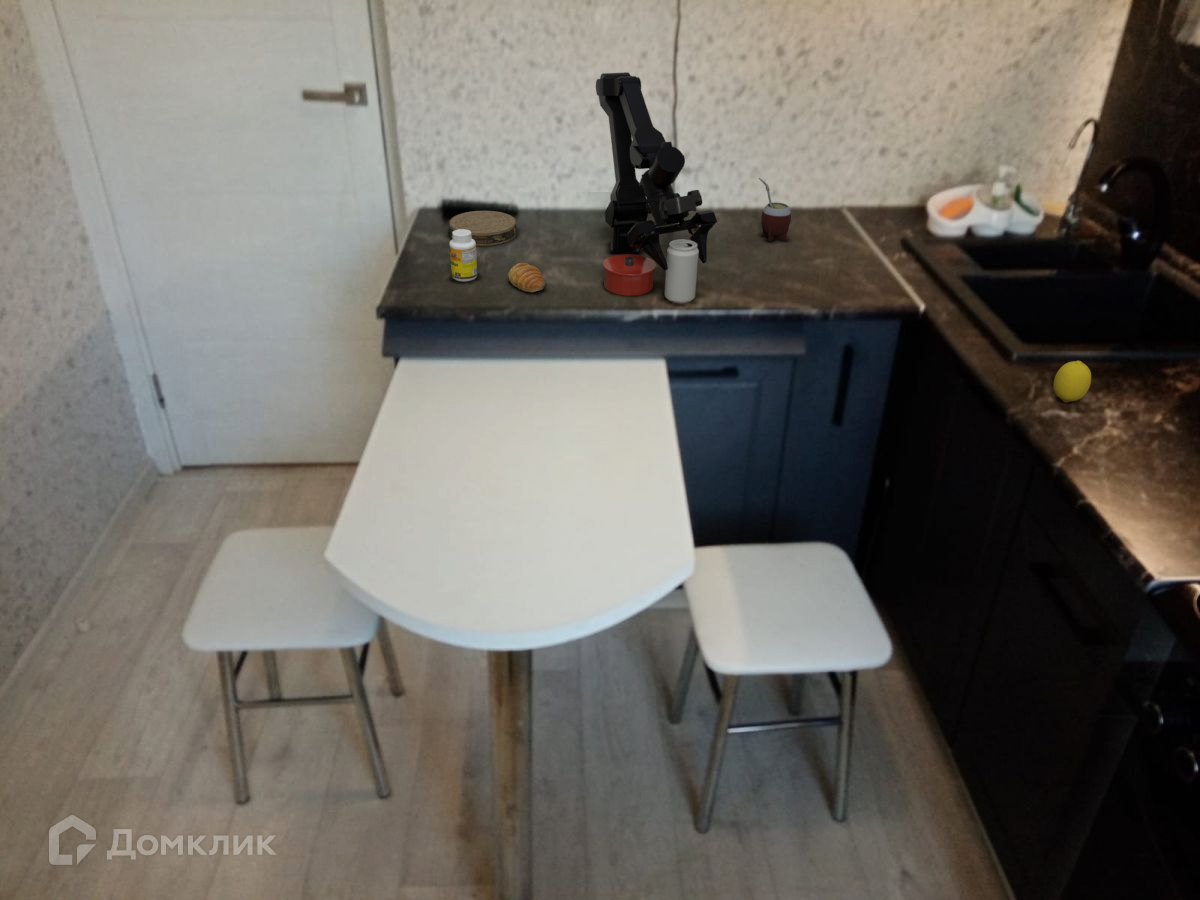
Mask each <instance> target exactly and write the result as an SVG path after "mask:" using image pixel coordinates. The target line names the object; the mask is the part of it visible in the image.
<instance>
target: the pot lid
mask: <svg viewBox="0 0 1200 900" xmlns="http://www.w3.org/2000/svg"><path fill="white" fill-rule="evenodd" d="M602 267H603V269H604V268H605V270H607V271H608V272H611V273H613V274H617V275H622V276H640V275H645V274H649V273H651V272H653V271H654V272H655V270H656V268H657V263H656V262H655V261H654V260H653V259H652V258H651V257H647V256H644V255H641V254H633V253H622V254H616V255H612V256H609V257H607V258H606V259H604V260H603V262H602Z"/></svg>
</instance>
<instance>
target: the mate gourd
mask: <svg viewBox="0 0 1200 900" xmlns="http://www.w3.org/2000/svg"><path fill="white" fill-rule="evenodd" d="M758 180H759V181H760V182H761V183H762V184H763V185H764V186H765V191H766V193H767V197H768V203H767V204H766V205H764V207H763V208H762V211H761V217H760V218H761V220H760V221H761V222H760V223H761V231H762V233H761V234H760V236H761V237H764V238H767V239H766V242H767V243H771V242H772V241H774V240H777V241H782V242H786V241H787V238H786V236H787V234H788V232H789V228H790V225H791V222H792V210H791V208H790V206H789V205H788V204H786V203H783V202H777V201H775V202H773V201H772V197H771V192H770V190H771V189H770V186H769V185H768V183H767V182H766V181H765V180H763V179H762V178H760V177H758Z"/></svg>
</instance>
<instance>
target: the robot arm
mask: <svg viewBox="0 0 1200 900" xmlns="http://www.w3.org/2000/svg"><path fill="white" fill-rule="evenodd" d="M595 92H596V93H595V94H596V96H598V101H599V106H600V107H601V109H602V110H603V111H604V113H605V114H606V116H607V117H608V125H609V134H610V142H611V151H612V152H611V153H612V161H613V170H614V178H615V179H614V180H615V183H614V186H613V187H612V190H611V193H610V194H609V197H610V198H609V200H610V201H609V203H608V205H607V207H606V208H605V211H604V220H605V221H604V222H605V223H606V224H607V225H608V226H609V227H610V228H611V229H612V240H611V241H610V253H611V254H639V253H640V250H641V251H642V252H643V253H644V254H646V255H647V256H648V257H649V258H650V259H651V260H653V261H654V262H655V264H656V265H658V266H659V267H660V268H661V269H662V270H663V271H664V272H666V270H667V269H668V266H667V262H666V261H667V258H666V256H665V254H664V250H663V248H662V246H661V243H660V235H666V234H671V233H676V232H683V231H687V232H688V234H690V235H691V236H690V237H689V240H691V241H694V242H695V243H697V248H698V250H699V253H698V259H699V261H701V263H702V264H706V263H707V258H708V257H707V255H708V254H707V253H708V252H707V250H708V249H707V246H708V236H709V235H708V234H709V232H710V231H711V229H713V227H714V226H715V225H716V223H717V222H719V220H718V218H717V215H716V213H715V212H714V211H713V210H711V209H710V210H709V209H708V210H704V211H698V210H697V207H701V206H702V205H703V198H702V197H703V196H702V194H701V192H700V190H699V189H692V190H689V191H687V193H686V195H683V196H681V194H679V192H675V191H674V187H673V185H672V184H674V182H676V180H677V179H678V177H679V175H680V173H681V172H682V171H683V168H684V167H685V163H686V158H685V155H684V154H683V153H682V152H681V150H680V149H679V148H677V147H675V146H673V144H672V143H673V142H672V141H666V139H665V137H664V135H663V133H662V132H661V131H660V130H658V129H657V128H656V127H655V126H654V124H653V122H652V118H651V116H650V112H649V110H648V106H647V104H646V101H645V98H644V95H643V91H642V81H641V78H640V77H639V76H636V75H631V73H630V72H629V71H627V72H607V73H606V72H605V73H601V74H600V75H599V78H597V79H596V81H595ZM636 169H637V170H646V171H645V172H643V174H641V177H640V181H639V180H638V179H637V174H636V172H637V171H636ZM690 212H696V213H695V214H694V215H693V216H692V217H691V218H690V219H685V218H688V217H689V215H690ZM649 214H650V215H652V217H653V220H654V221H653V220H652V219H649V220H648V216H649Z"/></svg>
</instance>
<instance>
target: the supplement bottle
mask: <svg viewBox="0 0 1200 900" xmlns="http://www.w3.org/2000/svg"><path fill="white" fill-rule="evenodd" d="M452 235H453V237H452V238H453V239H452V238H451V240H449V243H448V244H449V246H448V247H449V257H450V271H451V278H452V279H453V280H454V281H457V282H462V283H463V282H464V283H465V282H466V283H467V282H471V281H474V280H475V279H477V277H478V258H477V257H478V256H477V246H476V242H475V241H474V240H473V239H472V236H471V231H470V230H466V229H458V230H455V231H453V232H452Z"/></svg>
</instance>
